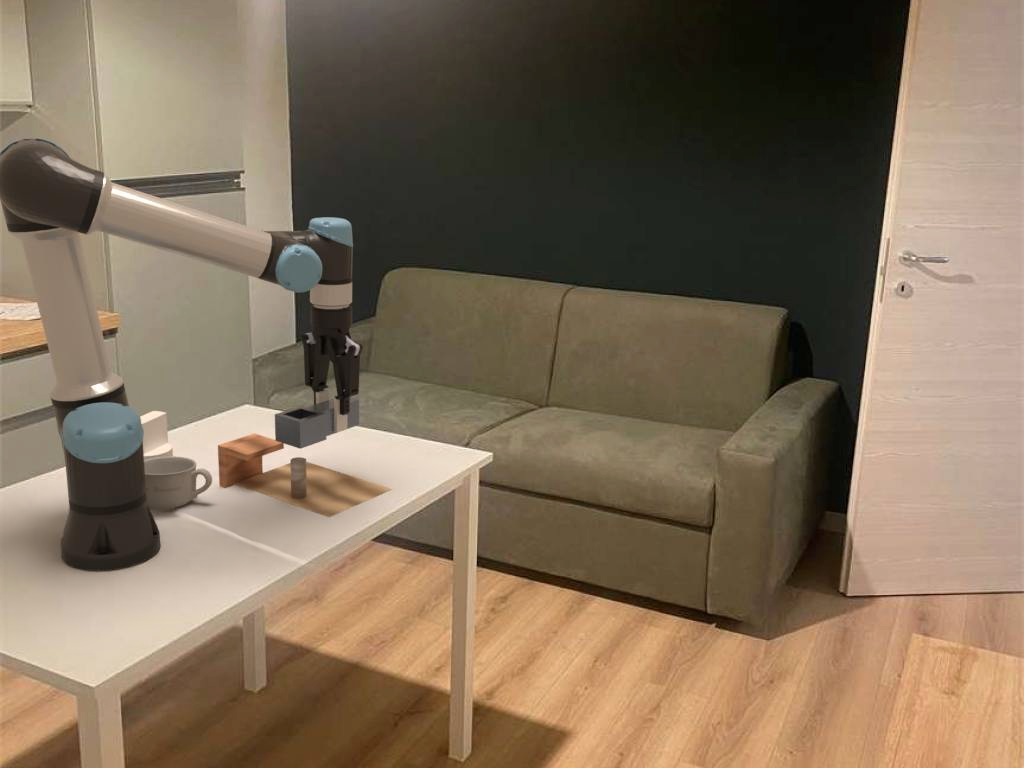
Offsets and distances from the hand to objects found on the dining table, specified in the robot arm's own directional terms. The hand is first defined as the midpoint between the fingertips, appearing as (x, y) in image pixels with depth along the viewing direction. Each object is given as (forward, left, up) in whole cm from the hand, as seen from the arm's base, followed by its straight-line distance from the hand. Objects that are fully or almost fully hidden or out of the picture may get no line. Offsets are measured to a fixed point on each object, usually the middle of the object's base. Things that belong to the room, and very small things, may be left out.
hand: (331, 427), depth 197 cm
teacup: (-24, +16, -13) cm, 31 cm away
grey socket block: (-3, 0, 0) cm, 3 cm away
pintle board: (-3, +3, -12) cm, 13 cm away
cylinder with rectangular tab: (-18, +31, -13) cm, 38 cm away
